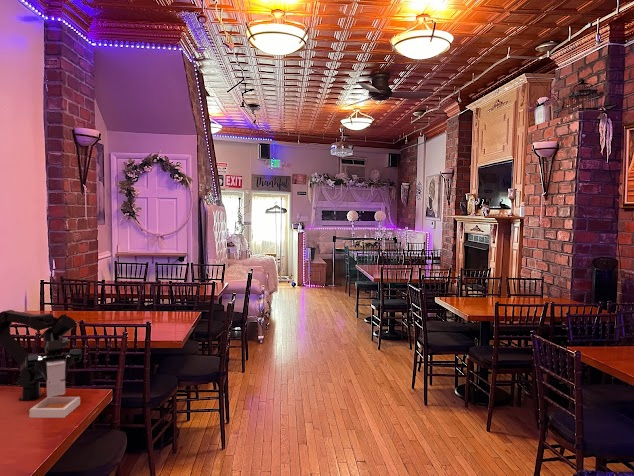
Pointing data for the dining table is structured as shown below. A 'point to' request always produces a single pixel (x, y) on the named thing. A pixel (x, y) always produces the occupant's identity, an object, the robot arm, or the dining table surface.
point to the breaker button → (56, 405)
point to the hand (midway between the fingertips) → (56, 378)
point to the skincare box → (55, 378)
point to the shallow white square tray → (43, 412)
